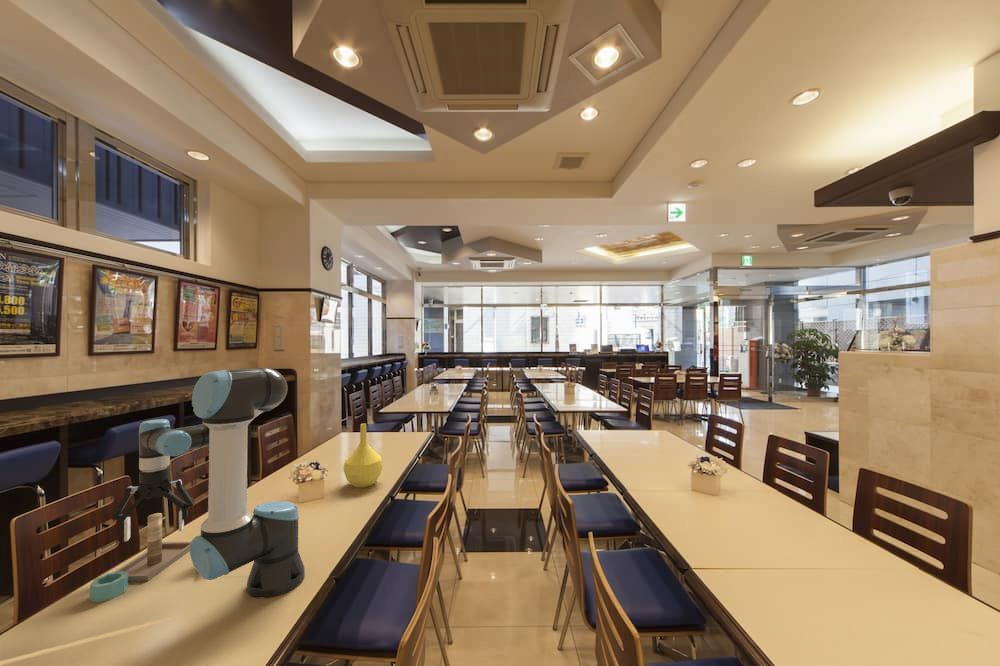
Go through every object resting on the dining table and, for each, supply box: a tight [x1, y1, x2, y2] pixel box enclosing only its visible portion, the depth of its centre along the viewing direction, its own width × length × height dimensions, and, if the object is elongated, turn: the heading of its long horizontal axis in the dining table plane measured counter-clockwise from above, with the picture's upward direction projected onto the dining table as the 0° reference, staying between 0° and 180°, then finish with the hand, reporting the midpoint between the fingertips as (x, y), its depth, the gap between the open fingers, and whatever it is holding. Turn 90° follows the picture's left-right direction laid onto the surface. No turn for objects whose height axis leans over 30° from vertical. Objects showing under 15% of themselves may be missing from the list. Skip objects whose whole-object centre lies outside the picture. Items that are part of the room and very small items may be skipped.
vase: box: [343, 423, 384, 488], centre depth 201 cm, size 18×18×30 cm
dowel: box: [146, 512, 163, 565], centre depth 130 cm, size 4×4×15 cm
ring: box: [89, 571, 129, 603], centre depth 115 cm, size 7×7×5 cm
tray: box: [114, 541, 191, 583], centre depth 130 cm, size 20×12×2 cm, turn 1°
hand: (155, 534), depth 130 cm, fingers open, 13 cm apart
